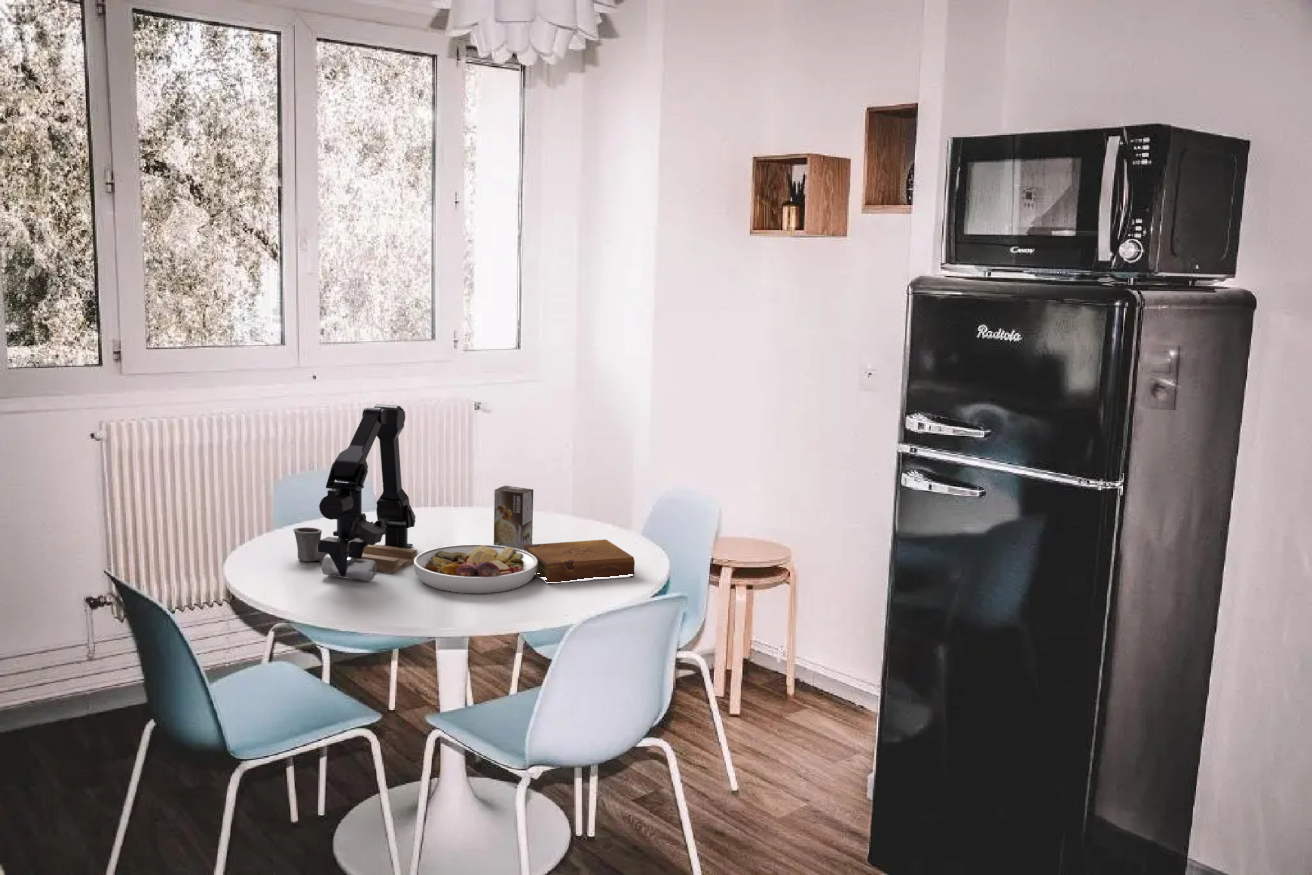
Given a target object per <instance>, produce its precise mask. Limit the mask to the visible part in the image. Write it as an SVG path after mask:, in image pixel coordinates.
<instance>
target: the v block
mask: <svg viewBox="0 0 1312 875" xmlns="http://www.w3.org/2000/svg"><path fill="white" fill-rule="evenodd" d="M383 545H384V544H375V545H368V546H367V547H365V549H364V551H363V554H362V557H361V559H367V560H374V561H375V562H376V566H377V570H376V572H378V573H379V572H380V573H386V574H392V575H393V574H395V573H397V572H399V571H401V570H402V569H405V568H406V567H408V565H409V566H410V565H414V559H415V557H416V556H417V555H418V550H417V549H411V548H407V549H405V548H398V547H390V546H383ZM348 557H349V555H348Z"/></svg>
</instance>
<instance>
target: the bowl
mask: <svg viewBox="0 0 1312 875" xmlns="http://www.w3.org/2000/svg"><path fill="white" fill-rule="evenodd" d="M537 567H538V560H537V558H536V557H535V556H534V555H532V554H530V553H528V552H527V551H526V550H524V551H523V550H520V549H516V548H513V547H512V548H511V547H505V546H497V545H494V544H480V543H477V544H476V543H474V544H473V543H472V544H454V545H445V546H440V547H435V548H430V549H428V550H425V551H422V552H421V553H419V554H417V556H416V557H415V559H414V563H413V568H414V569H413V570H414V572H415V575H416V576H417V578H418V579H419V580H421V581H422V582H423V583H424V584H426V585H427V586H429V587H431V588H434V589H437V590H441V591H444V590H445V591H444V592H449V591H451V592H450V593H456V592H458V593H459V594H469V593H483V594H491V593H490V592H496V593H500V592H499V591H503V592H506V591H505V590H508V591H511V589H512V590H515V589H518V588H520V587H522V586H524V585H526V584H527V583H529V582H530V581H531V580H532V579H533V578H534V577H535V576H536V575H535V573H536V571H537ZM514 588H515V589H514Z"/></svg>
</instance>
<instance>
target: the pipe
mask: <svg viewBox="0 0 1312 875" xmlns="http://www.w3.org/2000/svg"><path fill="white" fill-rule="evenodd" d="M292 531H293V532H294V535H295V536H294V537H295V540H296V541H295V542H296V547H297V549H296V550H297V558H298V560H299V561H300V562H301V561H302V562H305V563H306V562H307V563H308V562H322V561H323V559H324V557H325V556H326V555H327V554H328V553H324V552H318V551H317V543H318V542H319V541H320V540H322V539H321V538H322V532H323V531H322V529H320V528H318V527H317V528H316V527H310V526H309V527H297V528H293V530H292Z"/></svg>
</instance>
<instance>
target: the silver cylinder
mask: <svg viewBox="0 0 1312 875" xmlns="http://www.w3.org/2000/svg"><path fill="white" fill-rule="evenodd" d="M376 570H377V566H376V562H375V561H374V560H367V559H360V558H353V557H348V559H347V569H346V575H345V576H341V575H340V573H339V572H338V570H337V568H336V566H335V564H334V562H333V560H332V558H331V557H330V555H329V554H327V555H326V556H325V557H324V559H323V561H321V572H322V574H323V575H325V576H332V577H339V578H346V579H351V580H360V581H367V582H371V581H373V580H374V579H375V577H376V575H377V571H376Z"/></svg>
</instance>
